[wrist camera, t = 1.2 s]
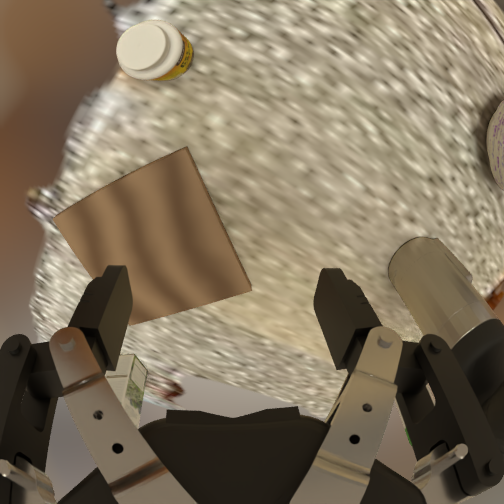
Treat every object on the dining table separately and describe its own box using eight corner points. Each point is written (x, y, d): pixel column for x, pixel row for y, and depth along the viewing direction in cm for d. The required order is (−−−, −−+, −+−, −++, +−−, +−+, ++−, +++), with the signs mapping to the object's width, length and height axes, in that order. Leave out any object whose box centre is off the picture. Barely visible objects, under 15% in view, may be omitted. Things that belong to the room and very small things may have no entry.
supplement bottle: (197, 75, 25) (179, 72, 17) (146, 85, 25) (110, 88, 17) (192, 29, 22) (173, 6, 14) (141, 39, 22) (103, 25, 14)
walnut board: (187, 146, 29) (185, 148, 28) (251, 285, 39) (251, 290, 38) (56, 214, 32) (52, 219, 31) (131, 320, 42) (129, 325, 41)
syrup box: (109, 355, 47) (91, 421, 35) (135, 353, 47) (119, 423, 35) (124, 372, 50) (110, 435, 38) (149, 370, 50) (138, 437, 38)
